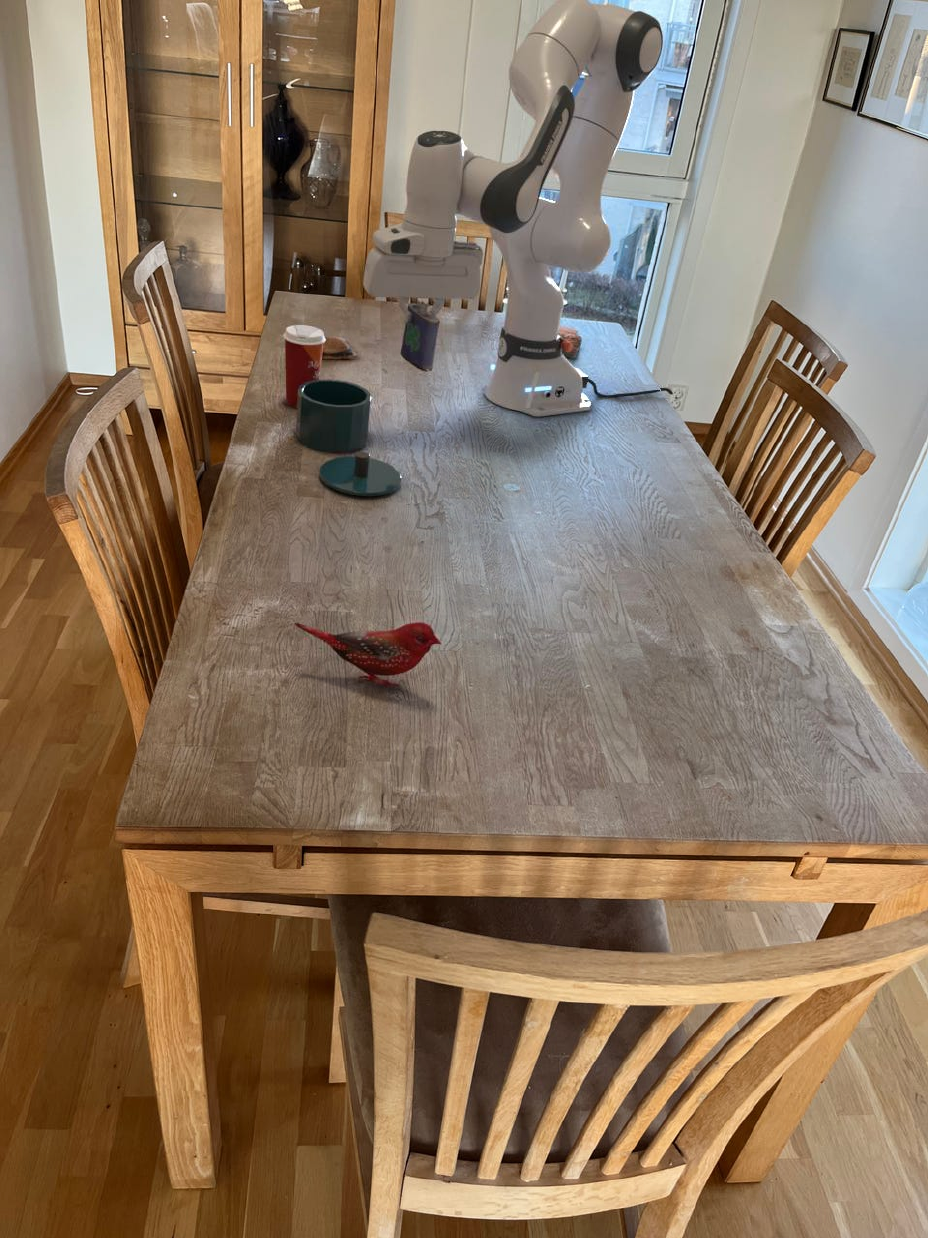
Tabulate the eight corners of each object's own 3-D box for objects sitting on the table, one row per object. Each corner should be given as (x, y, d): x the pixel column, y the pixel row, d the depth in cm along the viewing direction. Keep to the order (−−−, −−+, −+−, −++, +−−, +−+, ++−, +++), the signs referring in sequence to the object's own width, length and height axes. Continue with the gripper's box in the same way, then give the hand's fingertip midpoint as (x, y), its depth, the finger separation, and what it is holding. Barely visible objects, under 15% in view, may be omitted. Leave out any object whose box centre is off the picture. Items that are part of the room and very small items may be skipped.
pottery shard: (582, 362, 232) (586, 346, 230) (518, 352, 231) (521, 336, 228) (576, 340, 246) (579, 325, 243) (515, 331, 244) (518, 315, 242)
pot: (355, 422, 183) (358, 378, 178) (376, 451, 174) (380, 406, 169) (288, 424, 178) (290, 379, 173) (306, 454, 169) (309, 407, 164)
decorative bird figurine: (431, 703, 117) (441, 635, 111) (287, 671, 118) (291, 602, 112) (435, 689, 119) (446, 621, 114) (295, 658, 120) (299, 589, 115)
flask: (434, 371, 171) (444, 310, 165) (420, 372, 169) (428, 311, 163) (410, 351, 177) (418, 292, 171) (395, 352, 175) (403, 292, 169)
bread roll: (348, 347, 217) (350, 330, 215) (358, 360, 211) (360, 343, 209) (301, 345, 214) (302, 329, 212) (310, 359, 207) (311, 342, 205)
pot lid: (385, 460, 171) (388, 436, 168) (412, 497, 161) (415, 471, 158) (309, 464, 166) (311, 438, 163) (332, 501, 156) (334, 474, 153)
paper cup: (318, 413, 184) (322, 340, 176) (277, 407, 184) (280, 333, 176) (324, 398, 191) (328, 327, 183) (284, 392, 190) (287, 321, 182)
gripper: (477, 237, 169) (466, 317, 176) (363, 231, 161) (357, 315, 168) (492, 247, 164) (479, 329, 172) (375, 242, 156) (368, 328, 164)
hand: (418, 322), depth 170 cm, fingers closed on flask, 3 cm apart
